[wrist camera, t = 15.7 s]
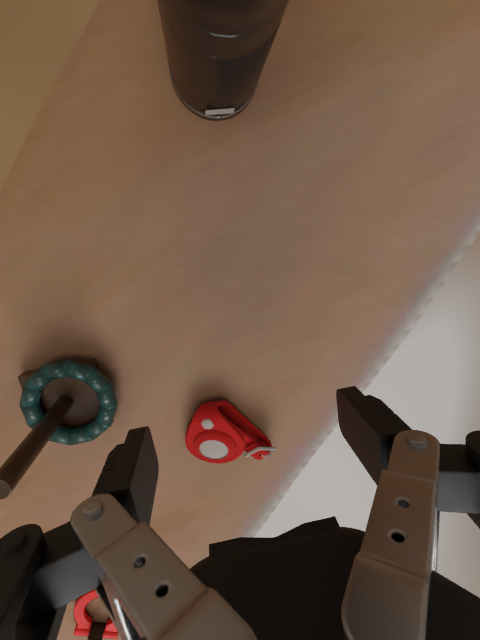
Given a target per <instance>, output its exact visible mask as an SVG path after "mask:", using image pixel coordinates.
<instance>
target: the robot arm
mask: <svg viewBox="0 0 480 640" xmlns="http://www.w3.org/2000/svg"><path fill="white" fill-rule="evenodd" d="M288 1H289V0H158V6H159V11H160V16H161V21H162V27H163V32H164V37H165V42H166V48H167V53H168V59H169V66H170V75H171V79H172V83H173V86H174V89H175V91H176V93H177V95H178V97H179V99H180V100H181V101H182V103H183V104H184V105H185V106H186V107H187V108H188V109H189V110H190V111H191V112H193V113H194V114H196V115H198V116H200V117H202V118H205V119H208V120H225V119H229V118H231V117H233V116H235V115H237V114H238V113H240V112H241V111H242V110H243V109H244V108H245V107H246V106H247V105H248V103H249V102H250V100H251V99H252V97H253V95H254V92H255V90H256V87H257V83H258V79H259V77H260V74H261V72H262V69H263V67H264V64H265V61H266V59H267V56H268V53H269V51H270V48H271V46H272V43H273V40H274V38H275V35H276V33H277V30H278V27H279V25H280V22H281V19H282V16H283V14H284V11H285V8H286V6H287V3H288ZM336 397H337V408H338V419H339V426H340V429H341V432H342V435H343V436H344V438H345V439H346V441H347V442H348V444H349V445H350V447H351V448H352V450H353V451H354V453H355V454H356V455H357V457H358V458H359V460H360V461H361V463H362V464H363V466H364V467H365V469H366V470H367V471H368V473H369V474H370V476H371V477H372V478H373V480H374V482H375V483H376V485H377V490H376V494H375V497H374V501H373V505H372V508H371V512H370V516H369V520H368V523H367V527H366V531H365V532H364V531H361V530H357V529H353V528H347V527H339V524H338V522H337V520H336V518H335V517H331V518H326V519H322V520H317V521H312V522H308V523H304V524H302V525H300V526H298V527H296V528H294V529H292V530H290V531H288V532H286V533H284V534H282V535H279V536H277V537H274V538H245V537H240V538H236V539H231V540H227V541H222V542H218V543H213V544H209V557H207V558H205V559H203V560H201V561H200V562H198V563H197V564H196V565H194V566H193V567H192V568H191V569H189V568H188V567H187V566H186V565H185V564H184V563H183V562H182V561H181V559H180V558H179V557H178V556H177V555H176V554H175V553H174V552H173V551H172V550H171V549H170V548H169V546H168V545H167V544H166V543H165V542H164V541H163V540H162V539H161V538H160V537H159V536H158V535H157V533H156V532H155V531H154V530H153V529H152V528H151V527H150V526H149V525H150V519H151V513H152V508H153V502H154V496H155V490H156V485H157V479H158V472H159V468H158V459H157V455H156V451H155V447H154V444H153V440H152V436H151V432H150V429H149V427H148V426H146V427H141V428H136V429H131V430H129V432H128V434H127V437H126V440H125V443H124V444H119V445H117V446H116V447H115V448H114V449H113V450H112V451H111V452H110V453H109V455H108V457H107V460H106V462H105V465H104V467H103V470H102V473H101V474H100V477H99V479H98V482H97V484H96V487H95V489H94V491H93V494H92V496H91V497H90V498H88V499H86V500H85V501H83V502H82V503H81V504H80V505H78V506H77V507H76V509H75V510H74V511H73V513H72V515H71V517H70V521H69V522H68V523H66V524H64V525H61V526H59V527H57V528H55V529H52V530H50V531H48V532H46V533H44V534H43V532H42V529H41V527H40V526H39V525H36V524H28V525H24V526H21V527H18V528H16V529H14V530H12V531H11V532H9V533H8V534H6V535H5V536H4V537H2V538H1V539H0V640H56V639H57V636H58V633H59V629H60V626H61V623H62V619H63V616H64V613H65V610H66V606H67V603H69V602H71V601H73V600H74V599H76V598H78V597H80V596H82V595H84V594H86V593H88V592H90V591H91V590H93V589H95V592H96V594H97V595H98V597H99V599H100V601H101V602H102V604H103V606H104V608H105V610H106V611H107V613H108V615H109V617H110V618H111V620H112V622H113V624H114V626H115V627H116V629H117V631H118V633H119V635H120V637H121V639H122V640H480V598H479V597H477V596H475V595H474V594H472V593H471V592H469V591H467V590H466V589H464V588H462V587H460V586H459V585H457V584H455V583H454V582H452V581H450V580H449V579H447V578H445V577H444V576H442V575H440V574H439V573H437V561H438V541H439V521H440V511H443V512H459V513H467V514H468V515H469V517H470V518H471V519H472V520H473V521H474V523H475V524H476V525H477V526H478V527H479V528H480V431H474V432H471V433H469V434H468V435H467V436H466V445H462V444H440V443H439V441H438V440H437V439H436V438H435V437H434V436H432V435H431V434H428V433H426V432H423V431H418V430H412V429H411V428H410V427H409V426H408V425H407V424H405V423H404V422H403V421H402V420H401V419H400V418H399V417H398V416H397V415H396V414H394V413H393V411H392V410H391V409H390V408H388V406H386V405H385V403H383V402H382V401H381V400H380V399H378V398H376V397H373V396H371V395H367V396H364V395H363V394H362V393H361V392H360V391H359V390H358V389H357V388H356V387H355V386H352V387H347V388H342V389H337V392H336Z"/></svg>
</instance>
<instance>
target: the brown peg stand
mask: <svg viewBox="0 0 480 640" xmlns="http://www.w3.org/2000/svg"><path fill="white" fill-rule="evenodd" d="M81 363H84V364H88V365H92V366H94V367H95V368H96V369H98V365H97V362H96V359H93V360H88V361H82V362H81ZM98 370H99V369H98ZM36 371H37V370H33V371H28V372H23V373H22V374H21V375H20V376H18V379H19V382H20V385H21V388H22V390H23V386H24V383H25V381H26V380H27V379H28V378H29V377H30V376H31V375H32V374H33V373H35V372H36ZM39 402H40V404H41V407H42V410H43V412H44V414H45V415H44V416H43V418H42V419H41V420H40V421H39V422H38V424H37V425H36V426H35V427H34V428H33V430H32V431H31V432H30V433H29V434H28V435H27V437H26V438H25V439H24V440H23V441H22V443H21V444H20V445H19V446H18V447H17V449H16V450H15V451H14V452H13V453H12V454H11V456H10V457H9V458H8V459H7V460H6V462H5V463H4V464H3V465H2V466H1V468H0V499H4V498H6V497H8V496H9V495H10V493H11V492H12V491H13V489H14V488H15V486H16V485H17V484H18V482H19V481H20V479H21V478H22V477H23V475H24V474H25V473H26V471H27V470H28V468H29V467H30V466H31V464H32V463H33V461H34V460H35V459H36V457H37V456H38V455H39V453H40V452H41V450H42V449H43V448H44V446H45V445H46V443H47V442H48V441H49V439H50V438H51V436H52V435H53V434H54V432H55V431H56V430H57V428H58V427H59V425H61V426H65V427H69V428H76V427H81V426H85V425H88V424H89V423H90V422H91V421H92V420H94V419H95V418H96V417H97V414H98V411H99V407H100V403H99V400H98V397H97V394H96V391H94V390H93V389H92V388H91V387H90V386H89V385H88V384H87V383H85V382H84V381H82V380H78V379H74V378H70V377H64V378H59V379H54V380H52V381H50V382H49V383H48V384H47V385H46V386H45V387H44V388H43V389H42V392H41V396H40V400H39ZM112 423H113V422H112ZM111 425H112V424H111Z"/></svg>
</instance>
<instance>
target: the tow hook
mask: <svg viewBox="0 0 480 640" xmlns="http://www.w3.org/2000/svg"><path fill="white" fill-rule="evenodd" d="M95 598H98V595H97V594H96V592H95V589H93V590H91V591H90V592H88V593H86V594H84V595H82V596H80V597H79V598H78V600H77V602H76V605H75V609H74V617H75V619H76V621H77V624H76V628H75V631H74V635H82V636H88V639H87V640H102V638H113V639H117V636H118V631H117V629H116V627H115V626H114V624H113V622H112V620H111V619H110V620H108V621H107V624H106V626H105V625H103V624H93V623H92V618H91V617H89V616H88V615H87V613H86V609H85V607H86V605H87V604H88V603H89V602H90V601H91V600H93V599H95ZM91 623H92V625H91Z"/></svg>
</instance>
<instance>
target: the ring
mask: <svg viewBox="0 0 480 640" xmlns="http://www.w3.org/2000/svg"><path fill="white" fill-rule="evenodd" d="M64 377H70V378H74V379H78V380H82V381H84V382H85V383H87V384H88V385H89V386H90V387H91V388H92V389H93V390H94V391H96V394H97V397H98V400H99V403H100V407H99V411H98V414H97V417H96V418H95V419H94V420H92V421H91V422H90V423H89V424H88V425H85V426H81V427H76V428H69V427H65V426H61V425H59V427H58V428H57V430H56V431H55V432H54V434H53V435H52V436H51V438H50V439H49V441H53V442H57V443H62V444H66V445H74V444H79V443H83V442H88V441H92V440H94V439H96V438H97V437H98V436H99V435H100V434H102V433H103V432H104V431H105V430H106V429H107V428H109V427H110V426H111V424H112V422H113V419H114V415H115V412H116V409H117V405H118V402H117V398H116V395H115V392H114V389H113V385H112V383H111V381H110V380H109V379H107V378H106V377H105V376H104V375H103V374H102V373H101V372H100V371H99V370H98V369H96V368H95V367H94V366H92V365H88V364H84V363H81V362H77V361H73V360H64V361H59V362H54V363H49V364H45V365H43V366H41V367H40V368H39V369H38V370H37V371H36V372H35V373H33V374H32V375H31V376H30V377H29V378H28V379H27V380H26V381H25V383H24V386H23V391H22V395H21V399H20V407H21V410H22V412H23V415H24V417H25V420H26V422H27V424H28V426H29V427H31V428H32V429H33V428H34V427H35V426H36V425H37V424H38V422H39V421H40V420H41V419H42V418H43V416H44V415H45V414H44V412H43V410H42V407H41V404H40V402H39V400H40V396H41V392H42V389H43V388H44V387H45V386H46V385H47V384H48V383H49V382H50V381H52V380H54V379H59V378H64Z"/></svg>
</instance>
